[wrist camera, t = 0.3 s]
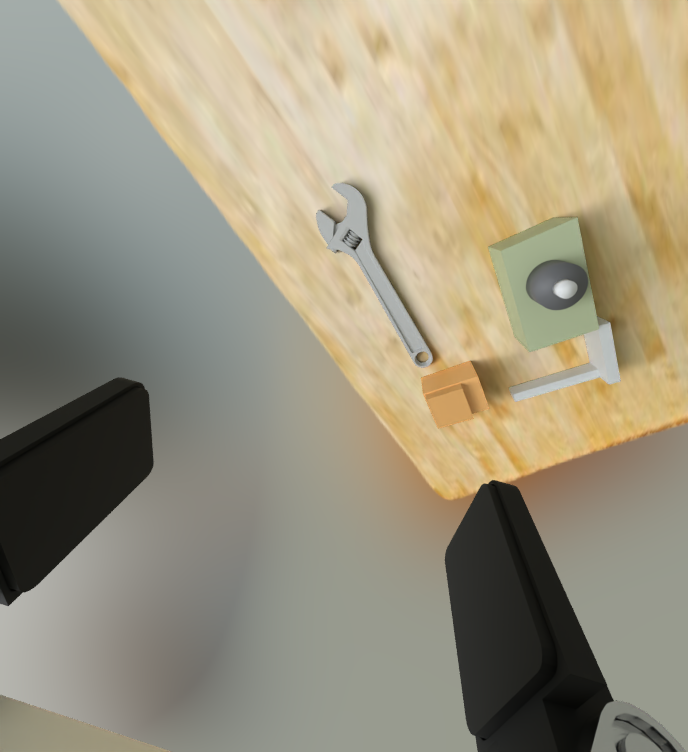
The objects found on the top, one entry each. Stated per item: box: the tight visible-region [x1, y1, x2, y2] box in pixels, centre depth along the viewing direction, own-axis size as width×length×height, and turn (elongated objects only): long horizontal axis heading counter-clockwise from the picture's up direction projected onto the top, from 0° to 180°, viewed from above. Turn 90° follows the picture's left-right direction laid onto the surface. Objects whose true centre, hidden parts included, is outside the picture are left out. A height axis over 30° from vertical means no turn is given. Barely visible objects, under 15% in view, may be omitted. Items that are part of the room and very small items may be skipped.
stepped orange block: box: [421, 361, 489, 429], centre depth 43 cm, size 5×7×6 cm
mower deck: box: [488, 217, 621, 402], centre depth 36 cm, size 20×11×10 cm, turn 26°
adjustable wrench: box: [316, 183, 433, 368], centre depth 42 cm, size 25×6×2 cm, turn 28°
